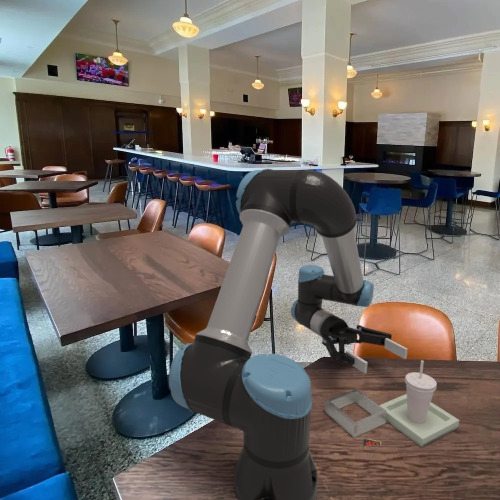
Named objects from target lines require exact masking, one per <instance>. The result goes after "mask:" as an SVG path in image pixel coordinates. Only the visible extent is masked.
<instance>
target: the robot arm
mask: <svg viewBox="0 0 500 500" xmlns="http://www.w3.org/2000/svg"><path fill="white" fill-rule="evenodd" d="M236 198H237V199H236V201H235V206H236V210H237V212H238V214H239V221H240V222H241V225H242V227H241V231H240V234H239V237H238V239H237V242H236V245H235V247H234V250H233V253H232V256H231V259H230V261H229V265H228V267H227V270H226V273H225V276H224V278H223V281H222V283H221V287H220V289H219V291H218V292H219V293H218V296H217V299H216V300H215V303H214V307H213V309H212V311H211V315H210V317H209V320H208V323H207V326H206V327H205V328H204V329H202V330H200V331H199V332H197V333H196V334H195V336H194V338H193V339H194V340H193V342H191V343H185V344H184V345H183V346H181V347H180V350H179V349H178V351H176V353H175V355H174V357H173V359H172V362H171V365H170V369H169V375H168V384H169V385H168V386H169V390H170V394H171V397H172V399H173V400H174V401H175V402H176V404H177V405H179V406H180V407H183V408H185V409H187V410H189V412H191V413H194V414H199V415H202V416H204V417H207V418H209V419H212V420H214V421H215V422H220V423H222V424H224V425H227V426H230V427H232V428H235V429H236V430H240V431H242V433H243V446H242V448H241V451H240V453H239V457H238V459H237V461H236V463H235V466H234V472H233V473H234V474H233V481H234V482H233V483H234V491H235V494H236V497H237V499H238V500H316V498H317V493H318V485H319V484H318V482H319V481H318V480H319V479H318V472H317V471H318V470H317V468H316V464H315V461H314V459H313V455H312V453H311V450H310V436H311V434H310V433H311V416H312V415H311V413H312V408H313V407H312V406H313V403H312V402H313V396H312V384H311V378H310V376H309V374H308V373H307V372H306V370H305V369H304V367H303V366H302V365H301V364H300V363H298V362H297V361H296V360H294V359H292V358H290V357H287V356H286V355H285V356H284V355H281V354H277V353H269V354H266V353H261V354H260V353H259V354H256V355H253V356H252V354H253V351H252V349H251V347H250V345H249V343H248V341H249V338H250V334H251V332H252V328H253V326H254V325H253V324H254V321H255V319H256V315H257V312H258V309H259V306H260V303H261V300H262V296H263V293H264V290H265V287H266V284H267V280H268V278H269V274H270V271H271V268H272V265H273V262H274V257H275V255H276V252H277V248H278V246H279V242H280V239H282V238H283V237H285V236H287V235H288V234H289V233H290V230H291V227H292V225H293V223H294V224H296V223H297V224H307V225H311V226H313V227H314V230H315V232H316V233H317V234H318V235H319V236H320V237H321V238H322V241H323V242H322V243H323V244H324V248H325V252H326V254H327V257H328V261H329V265H330V267H331V268H330V269H331V270H332V271H331V272H332V274H333V275H329V274H325V270H324V267H322V266H318V265H316V264H305V265H302V266H301V267H300V268H299V270H298V271H299V272H298V279H297V299H296V300H295V301H294V302H293V303H292V305H291V307H290V314H291V315H290V316H291V317H292V318H293V320H294V321H296V322H297V323H298V324H299V325H301V326H304V327H305V328H307V329H308V330H310V331H312V332H313V333H315V334H316V335H318V336H319V337H320V338H322V339H321V340H322V342H321V344H322V346H324V347H325V348H326V350H327V352H328V354H329V357H330V359H331V361H332V362H337V361H338V362H339V364H344V363H346V364H348V365H350V366H353V367H354V368H356V369H357V370H358V371H360V372H361V373H363V374H367V373H368V372H367V371H368V363H369V362H368V361H366V360H365V359H363V358H361V357H359V356H358V355H356V354H355V353H353V352H352V351H350V350H348V349H347V350H346V351H345V345H346V346H348V345H351V344H354V343H355V344H362V343H364V344H370V345H376V346H382V347H384V349H386V350H387V351H389V352H391V353H393V354H394V355H396V356H399V358H401V359H403V360H406V359H407V358H408V348H407V347H405V346H403V345H401V344H400V343H398V342H395V340H392V337H393V334H391V333H387V332H384V331H380V330H376V329H372V328H368V327H365V326H363V325H360V324H357V325H356V328H353V327H350V326H349V325H348V323H347V321H345V320H344V319H343V318H341V317H339V316H337V315H335V314H334V313H332V312H329V311H327V310H326V309H324V308H323V307H322V304H323V300H324V301H328V302H335V303H340V304H345V305H348V306H349V305H350V306H355V307H362V308H367V307H369V306H370V305H371V304H372V302H373V297H374V284H373V282H371V281H368V280H366V279H364V278H363V277H364V276H363V273H362V267H361V262H360V256H359V251H358V250H359V249H358V244H357V239H356V235H355V228H356V226H357V214H356V208H355V206H354V203H353V202H352V198H350V196H349V194H348V193H347V191H346V190H345V189H344V188H343V187H342V185H340V184H339V183H338V182H337V181H336V180H335V179H333V178H332V177H331V176H329V175H327V174H326V173H324V172H322V171H319V170H313V169H305V170H303V169H295V170H294V169H283V170H282V169H271V168H263V169H255V170H252V171H250V172H248V173H246V174H245V175H244V177H243V178H242V180H241V181H240V183H239V184H238V188H237V191H236ZM337 344H338V350H337V347H336V346H335V345H337Z"/></svg>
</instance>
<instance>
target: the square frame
mask: <svg viewBox="0 0 500 500" xmlns="http://www.w3.org/2000/svg"><path fill="white" fill-rule="evenodd" d="M355 403H356V404H357V405H358V406H359V407H361V408H363V410H364V411H366V412H368V413H369V414H370V415H368V416H366V417H364V418H361V419H359V420H357V421H354V420H353V419H352V418H351V417H350V416H348V415H347V413H345V412H344V411H342V410H341V409H342V408H344V407H347V406H349V405H352V404H355ZM324 404H325V405H324V413H325V414H327V415H328V416H329V417H330V418H331V419H333V420H334V422H335V423H337V424H338V425H339V426H340V427H341V428H342V429H344V430H345V432H347V433H348V434H349V435H350V436H351V437H352V438H357V437H359V436H361V435H363V434H365V433H368V432H369V431H372V430H375V429H376V428H378V427H380V426H383V425H385V424H386V423H387V421H386V419H387V411H386V410H385V409H383V408H382V407H381V406H379V404H377V403H376V402H375V401H374V400H372V398H370V397H368V396H367V395H365V394H364V393H363V392H361V390H358V388H354V389H352V390H349V391H347V392H344V393H341V394H338V395H336V396H333V397H330V398H328V399H326V400H325V401H324Z"/></svg>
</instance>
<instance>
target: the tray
mask: <svg viewBox="0 0 500 500" xmlns="http://www.w3.org/2000/svg"><path fill="white" fill-rule="evenodd" d="M378 405H379V404H378ZM379 406H381V407H382V408H383V409H385V410H386V411H387V419H386V422H388V423H389V424H390V425H392V427H394V428H396V429H397V430H398V431H399V432H401V433H402V434H404V435H405V436H406V437H407V438H409V439H410V440H411V441H412V442H414V443H415V444H417V445H418V446H419V447H421V448H424V447H426V446H427V445H429V444H432V443H434V442H435V441H436V440H439V439H440V438H442V437H444V436H446V435H448V434H450V433H452V432H454V431H455V430H458V429H459V426H460V419H458V418H457V417H455V416H454V415H452V414H451V413H449V412H447V411H446V410H444V409H443V408H441V407H440V406H438V405H436V404H434V403H433V402H431V403H430V406H429V410H428V413H427V416H426V420H425V422H424V423H422V424H418V423H414V422H412V421H410V420H409V419H408V416H407V393H405V394H403V395H400V396H399V397H396V398H393V399H391V400H389V401H386V402H384V403H382V404H380V405H379Z"/></svg>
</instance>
